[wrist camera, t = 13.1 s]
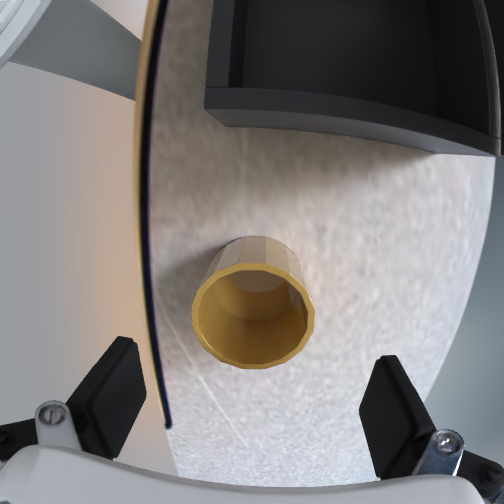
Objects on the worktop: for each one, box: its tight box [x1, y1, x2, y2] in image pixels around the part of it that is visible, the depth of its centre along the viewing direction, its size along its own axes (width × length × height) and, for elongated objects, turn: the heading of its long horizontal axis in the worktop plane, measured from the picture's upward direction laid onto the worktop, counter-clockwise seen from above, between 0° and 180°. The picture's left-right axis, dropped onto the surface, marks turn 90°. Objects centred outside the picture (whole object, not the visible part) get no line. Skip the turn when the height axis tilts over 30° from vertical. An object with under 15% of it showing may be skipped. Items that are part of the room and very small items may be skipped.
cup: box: [191, 236, 315, 369], centre depth 17 cm, size 6×6×5 cm
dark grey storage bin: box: [204, 0, 501, 157], centre depth 11 cm, size 14×16×6 cm
